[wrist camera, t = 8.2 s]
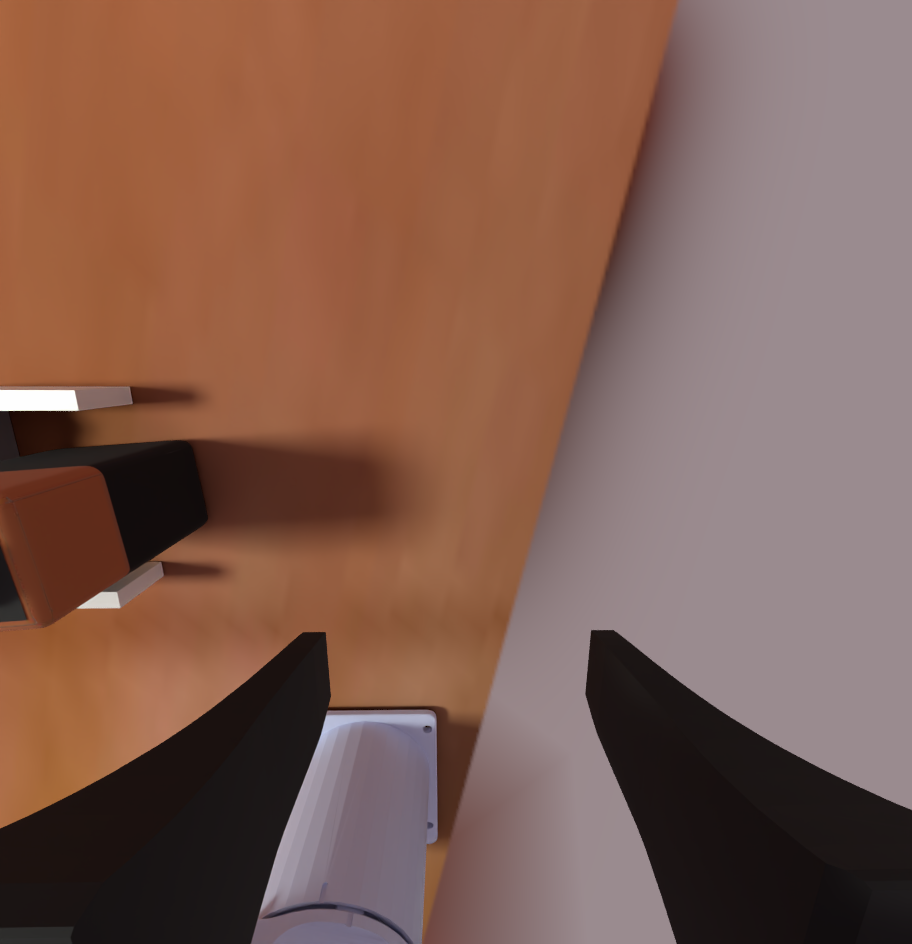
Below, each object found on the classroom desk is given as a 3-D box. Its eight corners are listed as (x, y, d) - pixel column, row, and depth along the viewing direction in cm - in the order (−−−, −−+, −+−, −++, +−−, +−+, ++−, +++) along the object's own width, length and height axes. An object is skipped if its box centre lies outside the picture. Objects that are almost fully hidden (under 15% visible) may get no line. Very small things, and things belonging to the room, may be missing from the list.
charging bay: (163, 576, 22) (115, 611, 19) (32, 576, 22) (-40, 612, 19) (129, 386, 20) (67, 390, 17) (-18, 386, 20) (-109, 390, 16)
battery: (214, 522, 21) (20, 654, 12) (79, 533, 21) (-226, 672, 12) (194, 437, 20) (-36, 503, 11) (52, 447, 20) (-306, 523, 11)
